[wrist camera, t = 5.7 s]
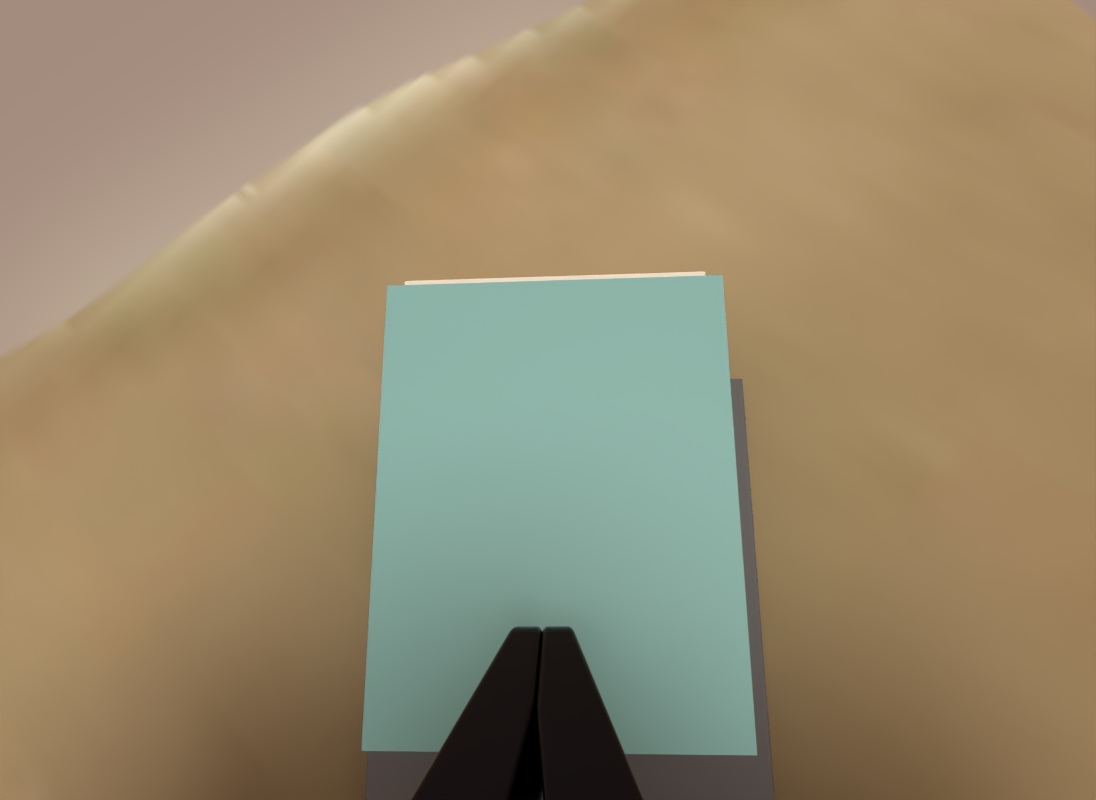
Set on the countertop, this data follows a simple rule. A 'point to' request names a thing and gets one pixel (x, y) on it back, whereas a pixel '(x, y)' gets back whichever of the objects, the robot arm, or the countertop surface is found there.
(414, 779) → the mat
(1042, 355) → the countertop surface
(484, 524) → the teal box cream top
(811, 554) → the countertop surface
